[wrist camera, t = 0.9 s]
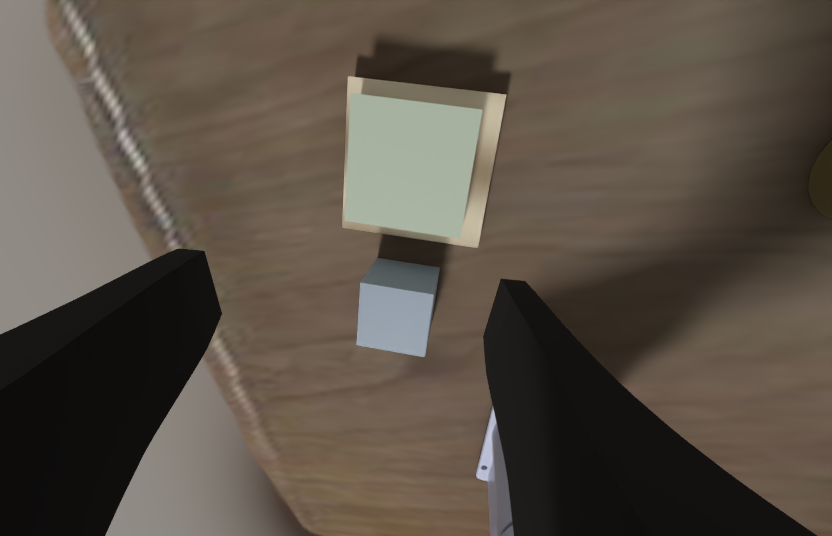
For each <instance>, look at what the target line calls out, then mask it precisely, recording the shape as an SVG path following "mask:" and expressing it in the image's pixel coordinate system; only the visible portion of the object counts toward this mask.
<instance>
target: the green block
mask: <svg viewBox="0 0 832 536" xmlns="http://www.w3.org/2000/svg"><path fill="white" fill-rule="evenodd" d="M482 111H483V110H481V109H473V108H466V107H458V106H450V105H442V104H434V103H426V102H418V101H410V100H402V99H395V98H387V97H379V96H371V95H363V94H355V93H351V94H350V115H349V137H348V158H347V179H346V200H345V221H349V222H356V223H362V224H369V225H375V226H381V227H388V228H394V229H401V230H407V231H413V232H420V233H426V234H432V235H439V236H445V237H452V238H458V239H460V238H461V232H462V226H463V220H464V214H465V209H466V203H467V197H468V191H469V186H470V180H471V174H472V168H473V163H474V157H475V151H476V145H477V140H478V134H479V128H480V122H481V117H482Z"/></svg>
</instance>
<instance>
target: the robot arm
mask: <svg viewBox="0 0 832 536" xmlns="http://www.w3.org/2000/svg"><path fill="white" fill-rule="evenodd" d="M221 315H222V312H221V308H220V305H219V301H218V298H217V294H216V291H215V287H214V284H213V280H212V276H211V273H210V269H209V266H208V262H207V259H206V255H205V252H204V251H199V250H188V249H176V250H174V251H171V252H169V253H167V254H165V255H162V256H160V257H158V258H156V259H154V260H152V261H150V262H148V263H146V264H144V265H142V266H140V267H138V268H136V269H135V270H132V271H130V272H128V273H127V274H125V275H123V276H121V277H119V278H117V279H115V280H113V281H111V282H109V283H107V284H105V285H103V286H101V287H99V288H97V289H95V290H93V291H91V292H89V293H87V294H85V295H83V296H81V297H79V298H77V299H75V300H73V301H71V302H69V303H67V304H65V305H63V306H60V307H58V308H56V309H54V310H52V311H50V312H48V313H46V314H44V315H42V316H39V317H37V318H35V319H33V320H31V321H29V322H27V323H25V324H22V325H20V326H18V327H16V328H14V329H12V330H9V331H7V332H5V333H3V334H0V536H105V535H106V532H107V530H108V528H109V526H110V524H111V521H112V519H113V517H114V515H115V513H116V510H117V508H118V506H119V504H120V502H121V500H122V497H123V495H124V493H125V491H126V489H127V487H128V485H129V483H130V481H131V479H132V477H133V475H134V473H135V471H136V469H137V467H138V465H139V463H140V461H141V459H142V457H143V455H144V453H145V451H146V449H147V447H148V445H149V444H150V442H151V440H152V438H153V437H154V435H155V433H156V432H157V430H158V429H159V427H160V425H161V423H162V422H163V420H164V419H165V417H166V416H167V414H168V412H169V411H170V409H171V407H172V406H173V404H174V403H175V401H176V399H177V398H178V396H179V394H180V393H181V391H182V390H183V388H184V386H185V385H186V383H187V381H188V380H189V378H190V377H191V375H192V373H193V371H194V370H195V368H196V367H197V365H198V363H199V362H200V360H201V358H202V357H203V355H204V353H205V351H206V350H207V348H208V345H209V343H210V341H211V339H212V337H213V334H214V332H215V330H216V327H217V325H218V322H219V320H220V317H221ZM483 338H484V352H485V364H486V374H487V379H488V384H489V389H490V394H491V399H492V404H493V405H492V409H491V414H490V418H489V422H488V426H487V430H486V434H485V438H484V442H483V446H482V450H481V454H480V458H479V462H478V466H477V470H476V476H477V478H478V479H480V480H485V481H488V498H489V520H490V536H817V535H815V534H814V533H812V532H811V531H809V530H808V529H807V528H805V527H804V526H802V525H801V524H799V523H798V522H796V521H795V520H794V519H792V518H791V517H789V516H788V515H786V514H785V513H784V512H782V511H781V510H779V509H778V508H776V507H775V506H773V505H772V504H771V503H769V502H768V501H766V500H765V499H763V498H762V497H760V496H759V495H758V494H756V493H755V492H754V491H752V490H751V489H749V488H748V487H747V486H745V485H744V484H743V483H741V482H740V481H738V480H737V479H736V478H734V477H733V476H732V475H730V474H729V473H728V472H726V471H725V470H724V469H722V468H721V467H720V466H718V465H717V464H716V463H715V462H713V461H712V460H711V459H709V458H708V457H707V456H705V455H704V454H703V453H702V452H700V451H699V450H698V449H696V448H695V447H694V446H693V445H691V444H690V443H689V442H687V441H686V440H685V439H684V438H682V437H681V436H680V435H679V434H678V433H676V432H675V431H674V430H673V429H671V428H670V427H669V426H668V425H667V424H665V423H664V422H663V421H662V420H661V419H660V418H658V417H657V416H656V415H655V414H654V413H653V412H652V411H650V410H649V409H648V408H647V407H646V406H645V405H644V404H642V403H641V402H640V401H639V400H638V399H637V398H635V397H634V396H633V395H632V394H631V393H630V392H629V391H628V390H627V389H626V388H625V387H624V386H622V385H621V384H620V383H619V382H618V381H617V380H616V379H615V378H614V377H613V376H612V375H611V374H610V373H609V372H608V371H607V370H606V369H605V368H604V367H603V366H602V365H601V364H600V363H599V362H598V361H597V360H596V359H595V358H594V357H593V356H592V355H591V354H590V353H589V352H588V351H587V350H586V349H585V348H584V347H583V345H582V344H581V343H580V342H579V341H578V340H577V339H576V338H575V337H574V336H573V335H572V334H571V332H570V331H569V330H568V329H567V328H566V327H565V326H564V325H563V324H562V322H561V321H560V320H559V319H558V318H557V317H556V316H555V314H554V313H553V312H552V311H551V310H550V309H549V308H548V306H547V305H546V304H545V303H544V302H543V301H542V300H541V298H540V297H539V296H538V295H537V294H536V293H535V291H534V290H533V289H532V288H531V287H530V286H529V285H528V284H527V283H526V282H525V281H519V280H508V279H501V280H500V283H499V287H498V290H497V293H496V297H495V300H494V303H493V306H492V310H491V313H490V316H489V319H488V323H487V326H486V329H485V332H484V336H483Z"/></svg>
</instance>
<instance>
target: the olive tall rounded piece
mask: <svg viewBox="0 0 832 536" xmlns="http://www.w3.org/2000/svg"><path fill="white" fill-rule="evenodd" d="M808 191H809V195H810V198H811V202H812V204H813V205H814V206H815V208H816V209H817V210H818V211H819V212H820V213H821V214H822V215H824V216H826V217H828V218H830V219H832V140H831V141H830V142H829V143H828V144H827V146H826V147H825V148H824V149H823V150H822V151H821V153H820V154H819V155H818V157H817V159H816V161H815V163H814V165H813V167H812V169H811V171H810V177H809V184H808Z"/></svg>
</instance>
